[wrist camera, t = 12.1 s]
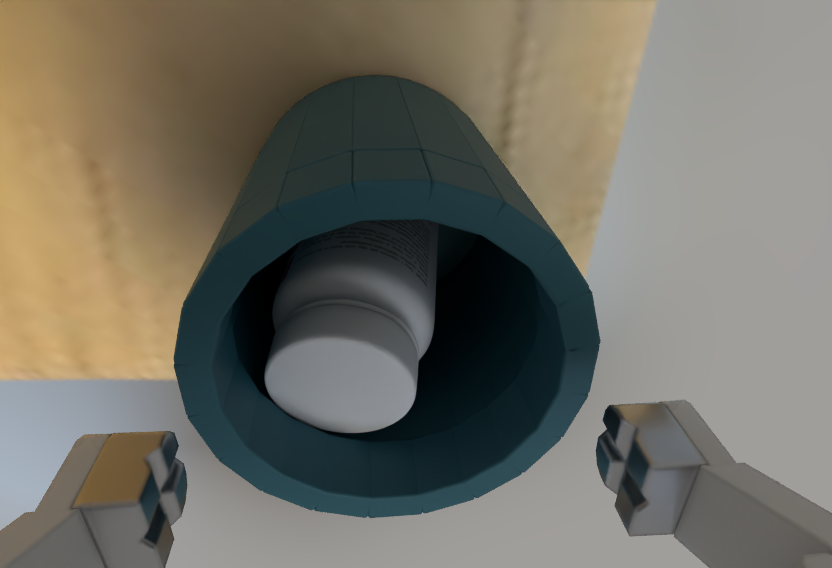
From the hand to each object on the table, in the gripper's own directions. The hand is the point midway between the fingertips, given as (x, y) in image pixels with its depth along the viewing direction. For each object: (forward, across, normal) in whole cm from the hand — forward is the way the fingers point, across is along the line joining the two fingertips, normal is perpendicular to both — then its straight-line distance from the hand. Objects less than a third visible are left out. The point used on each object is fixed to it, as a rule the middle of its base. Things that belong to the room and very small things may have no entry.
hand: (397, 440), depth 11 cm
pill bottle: (+12, 0, 0) cm, 12 cm away
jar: (+13, 0, 0) cm, 13 cm away
